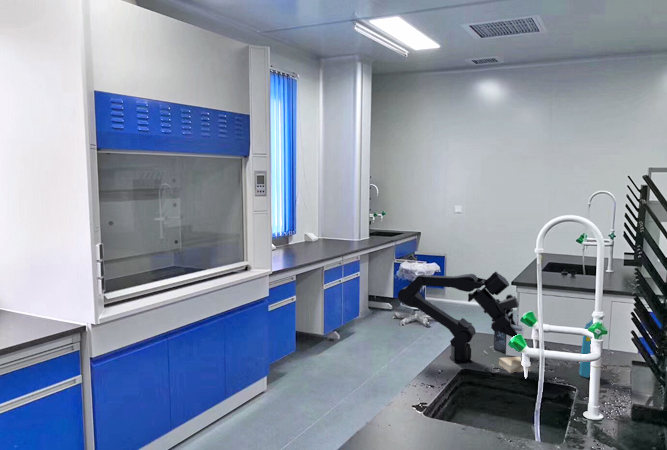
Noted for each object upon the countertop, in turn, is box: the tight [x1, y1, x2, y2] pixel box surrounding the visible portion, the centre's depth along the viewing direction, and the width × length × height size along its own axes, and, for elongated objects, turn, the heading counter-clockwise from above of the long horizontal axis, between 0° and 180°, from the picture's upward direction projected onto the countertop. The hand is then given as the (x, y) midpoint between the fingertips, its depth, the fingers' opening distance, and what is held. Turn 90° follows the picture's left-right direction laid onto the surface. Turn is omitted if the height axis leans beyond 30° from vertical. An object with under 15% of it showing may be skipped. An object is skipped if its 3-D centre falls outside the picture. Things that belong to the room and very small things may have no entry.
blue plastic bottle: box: [578, 318, 594, 379], centre depth 173 cm, size 7×5×19 cm, turn 144°
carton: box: [505, 324, 525, 358], centre depth 181 cm, size 6×6×10 cm
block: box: [498, 356, 532, 374], centre depth 182 cm, size 8×8×3 cm
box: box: [493, 331, 506, 354], centre depth 200 cm, size 8×6×11 cm
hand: (519, 336), depth 180 cm, fingers closed on carton, 5 cm apart
